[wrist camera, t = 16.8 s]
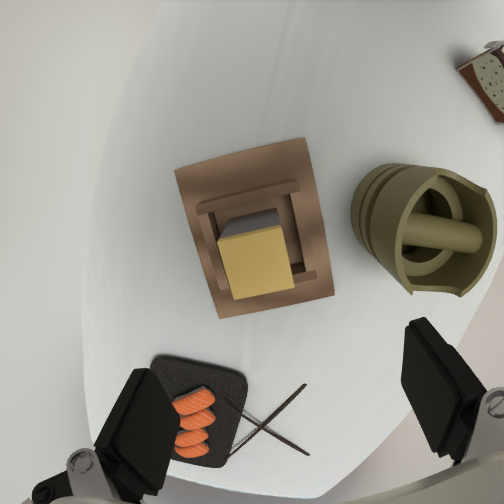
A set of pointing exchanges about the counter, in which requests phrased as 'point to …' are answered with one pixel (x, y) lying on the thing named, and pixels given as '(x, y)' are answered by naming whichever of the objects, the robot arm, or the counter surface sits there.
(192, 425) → the sushi plate
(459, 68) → the food container
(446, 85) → the counter surface
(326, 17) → the counter surface
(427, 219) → the piston
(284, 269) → the gold and gray block
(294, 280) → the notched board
